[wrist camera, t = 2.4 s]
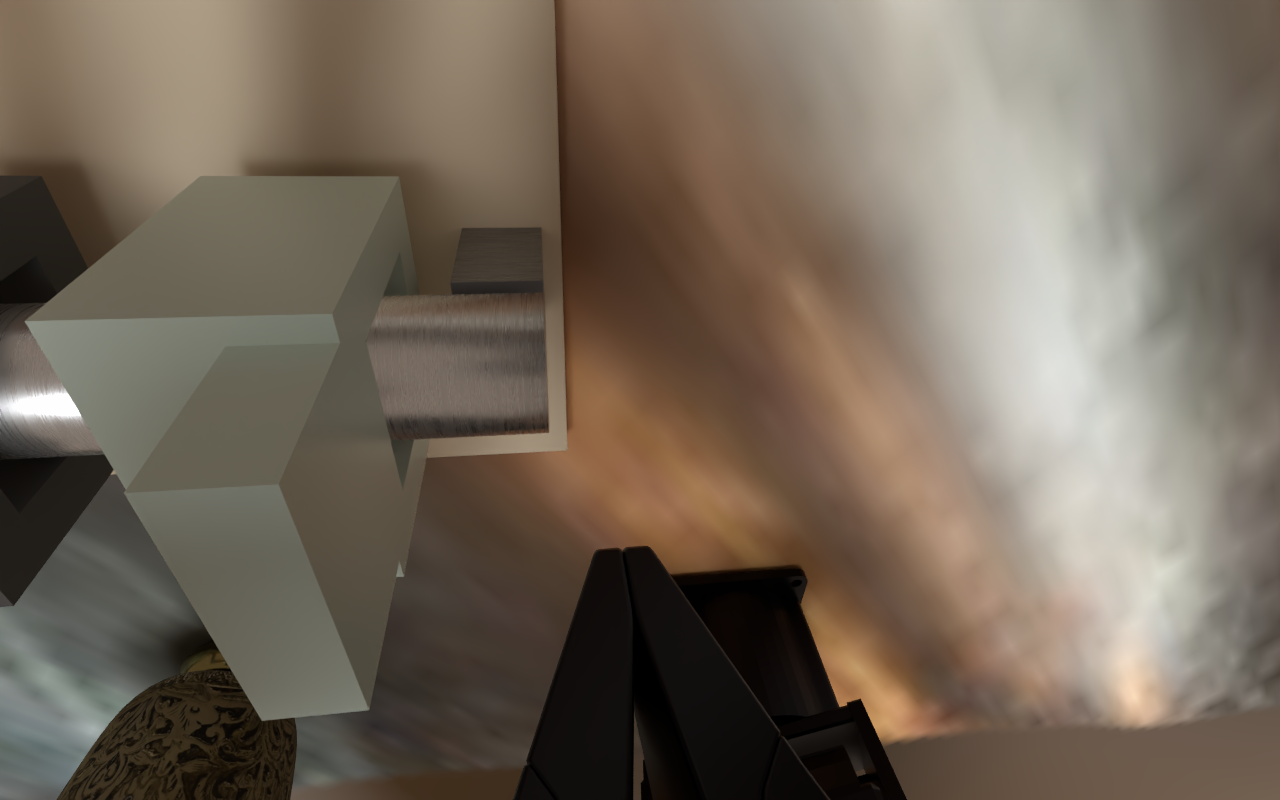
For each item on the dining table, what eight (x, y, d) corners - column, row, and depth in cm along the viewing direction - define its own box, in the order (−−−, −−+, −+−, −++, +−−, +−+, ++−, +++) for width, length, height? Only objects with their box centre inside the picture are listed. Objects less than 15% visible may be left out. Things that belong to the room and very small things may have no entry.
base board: (552, -19, 14) (554, -14, 14) (566, 430, 22) (567, 452, 21) (-765, -74, 11) (-871, -71, 11) (-215, 468, 19) (-251, 495, 18)
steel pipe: (540, 210, 17) (544, 338, 12) (545, 323, 19) (550, 472, 14) (-519, 215, 14) (-1097, 386, 9) (-378, 347, 16) (-785, 547, 11)
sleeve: (399, 176, 14) (264, 451, 7) (437, 397, 18) (375, 725, 11) (200, 175, 14) (-160, 472, 7) (282, 403, 17) (108, 753, 10)
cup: (92, 624, 25) (-56, 867, 19) (281, 586, 25) (198, 815, 19) (200, 716, 30) (110, 936, 23) (360, 684, 30) (314, 894, 23)
